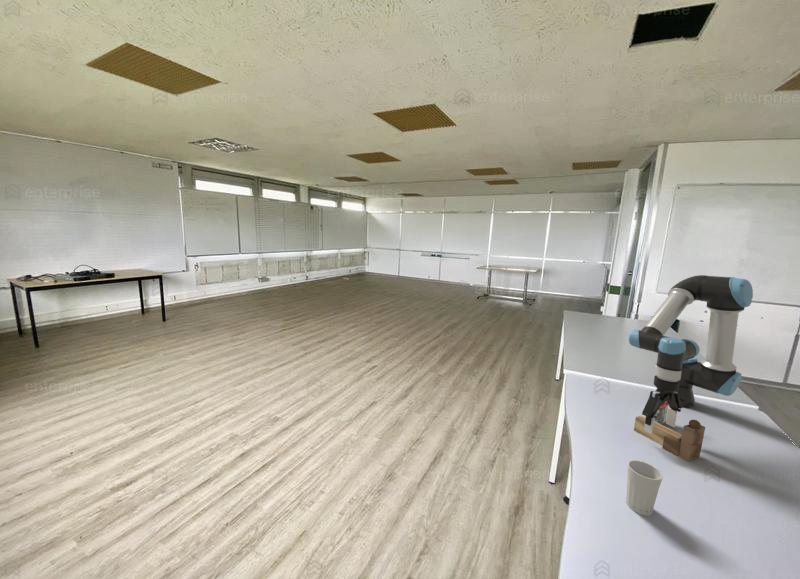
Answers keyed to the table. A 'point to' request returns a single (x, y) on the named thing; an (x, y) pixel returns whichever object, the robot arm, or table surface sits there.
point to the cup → (642, 486)
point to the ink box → (661, 413)
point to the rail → (656, 431)
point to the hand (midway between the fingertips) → (659, 428)
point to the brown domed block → (687, 442)
